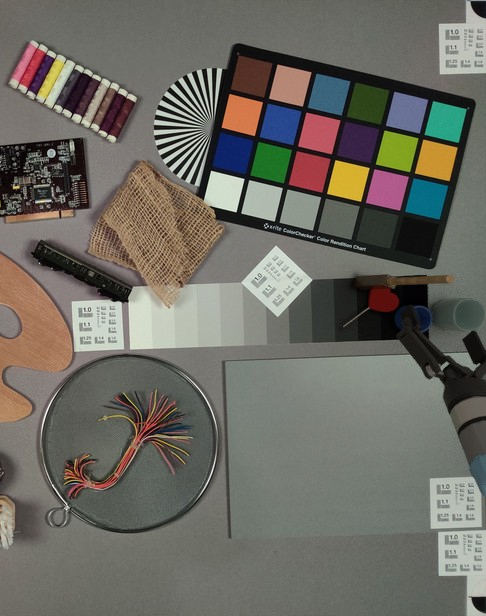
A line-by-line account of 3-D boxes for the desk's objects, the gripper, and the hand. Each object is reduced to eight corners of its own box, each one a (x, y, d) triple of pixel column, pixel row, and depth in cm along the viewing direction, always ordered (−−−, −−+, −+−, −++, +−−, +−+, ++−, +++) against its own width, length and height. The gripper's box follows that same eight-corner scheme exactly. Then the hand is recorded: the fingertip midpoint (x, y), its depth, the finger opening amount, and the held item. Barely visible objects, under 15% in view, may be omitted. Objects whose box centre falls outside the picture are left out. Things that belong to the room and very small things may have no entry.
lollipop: (351, 339, 144) (401, 303, 144) (353, 340, 143) (403, 303, 143) (332, 313, 143) (382, 277, 143) (334, 313, 143) (384, 276, 143)
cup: (424, 327, 144) (450, 329, 134) (428, 295, 144) (456, 295, 134) (455, 331, 144) (484, 334, 134) (459, 300, 144) (489, 300, 134)
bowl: (423, 310, 144) (436, 311, 139) (414, 335, 144) (426, 336, 139) (399, 301, 144) (411, 301, 139) (390, 326, 144) (402, 327, 139)
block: (366, 279, 144) (398, 278, 130) (362, 289, 144) (394, 289, 130) (356, 276, 144) (387, 274, 130) (352, 286, 144) (383, 285, 130)
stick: (396, 278, 130) (457, 275, 110) (393, 287, 130) (453, 286, 110) (388, 275, 130) (447, 272, 110) (385, 284, 130) (443, 282, 110)
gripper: (391, 396, 96) (366, 312, 112) (522, 447, 99) (479, 358, 114) (424, 368, 91) (393, 284, 107) (561, 423, 94) (510, 333, 109)
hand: (437, 322), depth 111 cm, fingers open, 13 cm apart
